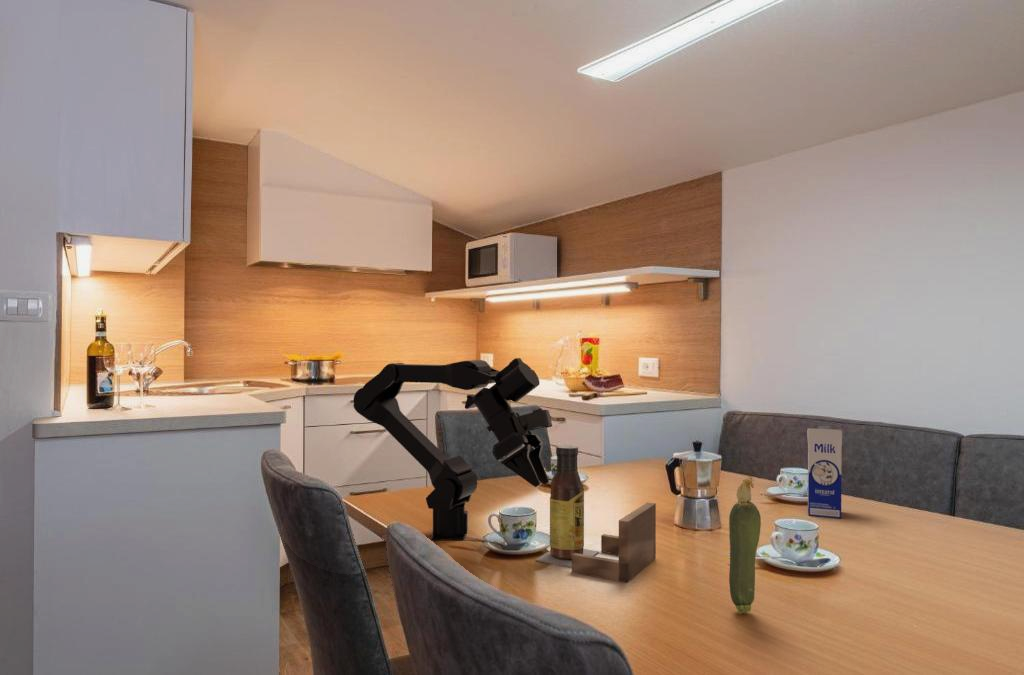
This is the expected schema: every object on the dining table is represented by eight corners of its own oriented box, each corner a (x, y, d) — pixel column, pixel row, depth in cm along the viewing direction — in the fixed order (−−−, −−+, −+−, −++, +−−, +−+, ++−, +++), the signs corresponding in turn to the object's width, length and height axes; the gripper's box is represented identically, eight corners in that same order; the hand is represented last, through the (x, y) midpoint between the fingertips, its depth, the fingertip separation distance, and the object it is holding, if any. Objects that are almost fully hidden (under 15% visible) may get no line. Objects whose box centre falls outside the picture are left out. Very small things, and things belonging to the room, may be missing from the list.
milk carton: (807, 515, 157) (807, 427, 157) (806, 508, 163) (807, 423, 163) (842, 518, 154) (842, 428, 154) (840, 511, 161) (840, 425, 161)
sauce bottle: (582, 562, 123) (582, 450, 123) (547, 559, 124) (547, 449, 124) (585, 550, 130) (585, 444, 130) (552, 548, 131) (552, 443, 131)
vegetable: (724, 606, 104) (724, 472, 104) (752, 605, 104) (752, 472, 104) (736, 618, 100) (736, 478, 100) (765, 617, 100) (766, 478, 100)
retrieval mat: (535, 561, 125) (535, 559, 125) (560, 546, 133) (560, 544, 133) (576, 568, 121) (576, 566, 121) (598, 553, 129) (598, 551, 129)
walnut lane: (571, 572, 119) (571, 513, 119) (603, 549, 131) (603, 496, 131) (627, 582, 114) (627, 521, 114) (655, 558, 126) (655, 503, 126)
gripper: (522, 388, 125) (570, 462, 121) (541, 395, 143) (584, 460, 139) (472, 422, 127) (518, 496, 123) (497, 425, 145) (538, 490, 141)
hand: (542, 484), depth 131 cm, fingers open, 9 cm apart
